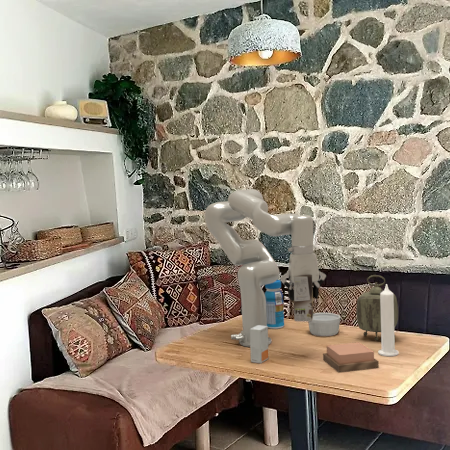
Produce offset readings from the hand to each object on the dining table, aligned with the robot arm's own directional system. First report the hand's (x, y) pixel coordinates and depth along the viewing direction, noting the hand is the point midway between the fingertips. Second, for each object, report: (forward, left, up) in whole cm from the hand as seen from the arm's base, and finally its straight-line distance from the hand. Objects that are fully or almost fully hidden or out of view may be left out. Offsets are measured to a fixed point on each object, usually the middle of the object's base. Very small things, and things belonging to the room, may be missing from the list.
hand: (303, 298), depth 212 cm
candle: (+28, -7, -21) cm, 36 cm away
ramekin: (+17, +27, -21) cm, 38 cm away
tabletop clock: (+33, +10, -21) cm, 40 cm away
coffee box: (0, 0, -7) cm, 7 cm away
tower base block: (+11, -13, -22) cm, 28 cm away
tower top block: (+11, -13, -19) cm, 25 cm away
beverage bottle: (+1, +44, -21) cm, 48 cm away
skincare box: (-17, +1, -21) cm, 27 cm away
